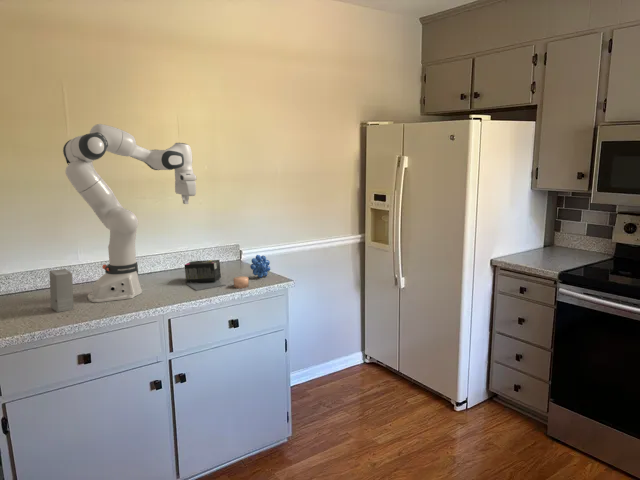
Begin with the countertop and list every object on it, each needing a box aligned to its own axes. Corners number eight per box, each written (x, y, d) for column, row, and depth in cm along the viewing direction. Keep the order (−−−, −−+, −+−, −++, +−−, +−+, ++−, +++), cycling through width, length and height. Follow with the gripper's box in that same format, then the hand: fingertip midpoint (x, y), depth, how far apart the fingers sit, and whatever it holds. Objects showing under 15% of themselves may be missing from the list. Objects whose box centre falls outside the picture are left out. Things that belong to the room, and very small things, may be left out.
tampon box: (213, 262, 232) (183, 264, 233) (215, 281, 233) (185, 283, 234) (219, 259, 243) (191, 260, 244) (221, 277, 244) (192, 278, 245)
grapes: (255, 281, 238) (254, 257, 236) (248, 278, 243) (247, 255, 241) (275, 277, 246) (274, 254, 243) (267, 274, 251) (267, 252, 249)
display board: (196, 290, 223) (196, 289, 223) (186, 284, 233) (186, 283, 233) (225, 285, 231) (225, 284, 231) (214, 279, 241) (214, 278, 241)
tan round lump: (237, 289, 225) (237, 281, 225) (231, 285, 231) (231, 277, 230) (251, 286, 229) (251, 278, 229) (244, 283, 235) (244, 275, 234)
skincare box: (50, 308, 199) (46, 270, 196) (69, 304, 204) (65, 267, 201) (57, 313, 193) (53, 274, 190) (76, 309, 198) (72, 271, 195)
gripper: (171, 175, 247) (172, 202, 249) (185, 177, 230) (186, 206, 233) (183, 175, 250) (184, 201, 253) (197, 176, 234) (199, 205, 237)
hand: (185, 203), depth 243 cm, fingers closed
